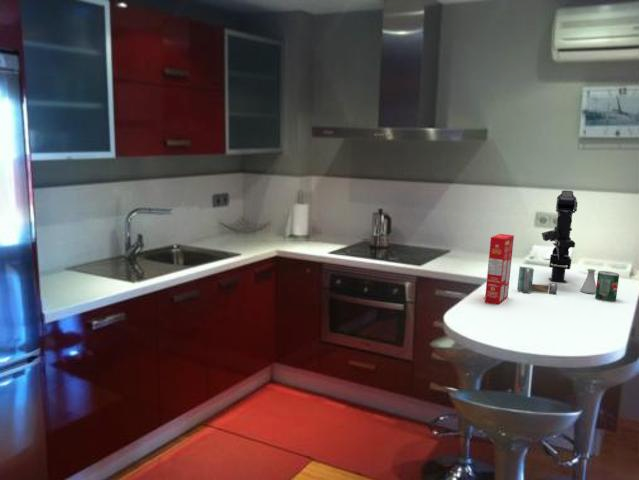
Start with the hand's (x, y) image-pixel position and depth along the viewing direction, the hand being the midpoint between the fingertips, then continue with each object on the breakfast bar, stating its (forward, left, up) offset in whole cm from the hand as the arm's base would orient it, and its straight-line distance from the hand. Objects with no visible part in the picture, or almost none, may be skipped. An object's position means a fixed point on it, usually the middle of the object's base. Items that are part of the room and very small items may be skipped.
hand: (559, 260), depth 261 cm
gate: (+14, -13, -12) cm, 23 cm away
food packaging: (+35, -31, -12) cm, 48 cm away
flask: (+5, +12, -12) cm, 18 cm away
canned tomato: (+17, +15, -12) cm, 26 cm away
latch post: (+17, -16, -12) cm, 27 cm away
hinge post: (+14, -5, -12) cm, 19 cm away
